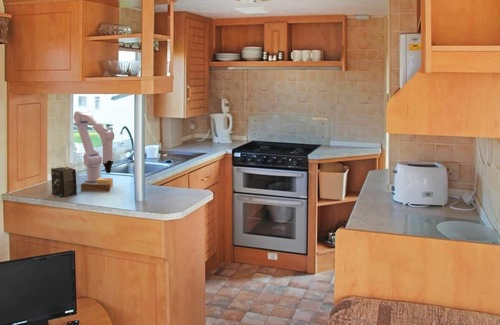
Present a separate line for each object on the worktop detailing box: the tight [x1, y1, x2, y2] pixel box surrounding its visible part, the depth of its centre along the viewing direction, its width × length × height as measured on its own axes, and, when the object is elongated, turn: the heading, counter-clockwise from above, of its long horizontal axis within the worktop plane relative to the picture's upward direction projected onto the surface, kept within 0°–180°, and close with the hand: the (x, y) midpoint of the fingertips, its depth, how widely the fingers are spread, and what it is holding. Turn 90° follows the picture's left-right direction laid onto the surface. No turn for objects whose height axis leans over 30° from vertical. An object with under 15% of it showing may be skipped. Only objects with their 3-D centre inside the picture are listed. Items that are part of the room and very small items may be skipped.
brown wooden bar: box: [80, 182, 111, 193], centre depth 289 cm, size 3×16×4 cm, turn 89°
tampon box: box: [50, 166, 78, 198], centre depth 278 cm, size 11×9×15 cm
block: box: [95, 177, 114, 189], centre depth 299 cm, size 6×8×5 cm
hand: (108, 173), depth 306 cm, fingers closed
